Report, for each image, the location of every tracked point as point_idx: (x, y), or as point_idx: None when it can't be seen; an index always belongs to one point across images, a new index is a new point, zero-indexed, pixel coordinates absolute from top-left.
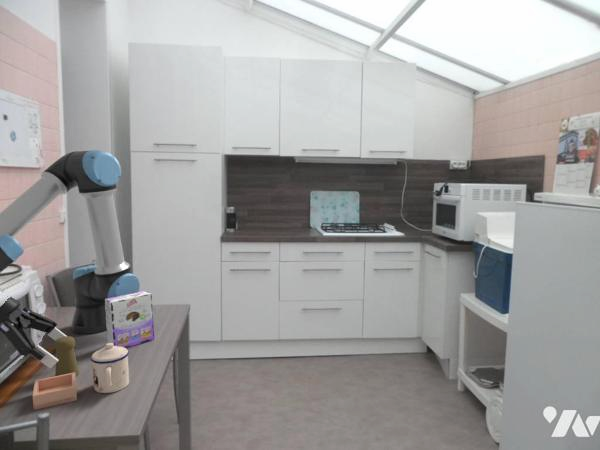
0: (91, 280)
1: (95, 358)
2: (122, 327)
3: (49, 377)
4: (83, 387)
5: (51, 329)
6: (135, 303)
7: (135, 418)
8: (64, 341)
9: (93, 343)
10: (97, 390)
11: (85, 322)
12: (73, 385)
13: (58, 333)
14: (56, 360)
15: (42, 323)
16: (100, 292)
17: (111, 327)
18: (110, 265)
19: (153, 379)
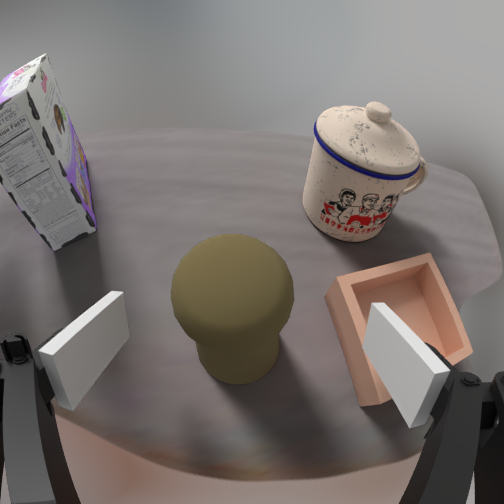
0: None
1: (415, 161)
2: (68, 159)
3: (367, 357)
4: (345, 272)
5: (43, 380)
6: (47, 80)
7: (449, 175)
8: (281, 268)
9: (13, 294)
10: (381, 228)
11: None
12: (423, 260)
13: (80, 343)
14: (386, 307)
15: (40, 435)
16: None
17: (55, 179)
18: None
19: None
